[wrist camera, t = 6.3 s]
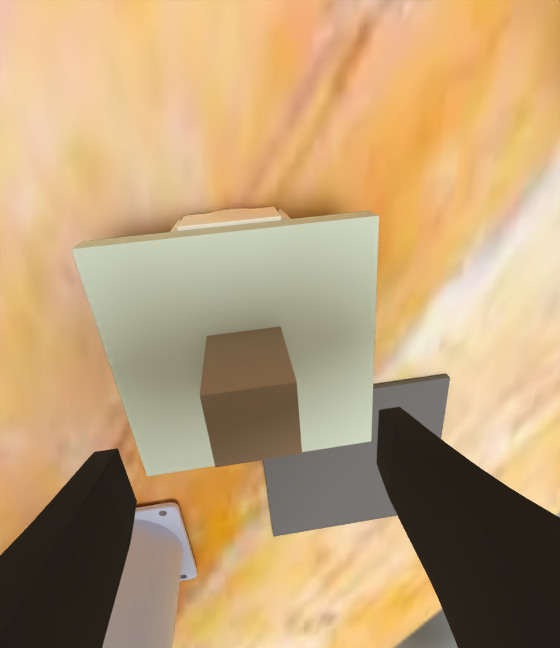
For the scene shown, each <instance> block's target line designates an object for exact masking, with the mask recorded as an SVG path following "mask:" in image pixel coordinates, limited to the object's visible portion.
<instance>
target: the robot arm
mask: <svg viewBox="0 0 560 648" xmlns="http://www.w3.org/2000/svg"><path fill="white" fill-rule="evenodd" d="M376 463H377V466H378V469H379V472H380V475H381V478H382V481H383V483H384V486H385V489H386V491H387V494H388V497H389V499H390V501H391V503H392V505H393V507H394V509H395V511H396V513H397V515H398V517H399V519H400V521H401V523H402V525H403V527H404V529H405V531H406V533H407V535H408V537H409V539H410V541H411V543H412V545H413V547H414V549H415V551H416V553H417V555H418V557H419V559H420V561H421V563H422V565H423V567H424V569H425V571H426V573H427V575H428V577H429V579H430V581H431V583H432V586H433V588H434V590H435V592H436V594H437V597H438V599H439V601H440V603H441V606H442V608H443V611H444V613H445V616H446V618H447V621H448V623H449V626H450V628H451V631H452V633H453V636H454V638H455V641H456V643H457V646H458V648H560V518H559V517H558V516H556V515H554V514H552V513H551V512H549V511H547V510H546V509H544V508H542V507H541V506H539V505H537V504H535V503H534V502H532V501H530V500H529V499H527V498H525V497H524V496H522V495H520V494H519V493H517V492H516V491H514V490H512V489H511V488H509V487H508V486H506V485H505V484H503V483H502V482H500V481H499V480H497V479H496V478H494V477H493V476H491V475H490V474H488V473H487V472H485V471H484V470H482V469H481V468H480V467H478V466H477V465H475V464H474V463H472V462H471V461H470V460H468V459H467V458H465V457H464V456H463V455H461V454H460V453H459V452H457V451H456V450H455V449H453V448H452V447H451V446H449V445H448V444H447V443H445V442H444V441H443V440H441V439H440V438H439V437H438V436H436V435H435V434H434V433H433V432H431V431H430V430H429V429H427V428H426V427H425V426H424V425H422V424H421V423H420V422H419V421H417V420H416V419H415V418H414V417H412V416H411V415H410V414H409V413H407V412H406V411H405V410H403V409H402V408H401V407H394V408H387V409H381V410H379V418H378V439H377V461H376ZM136 504H137V501H136V498H135V495H134V492H133V490H132V487H131V484H130V481H129V479H128V476H127V473H126V470H125V468H124V465H123V462H122V459H121V457H120V454H119V451H118V449H111V450H105V451H98V452H94V453H93V454H92V455H91V456H90V457H89V458H88V459H87V461H86V462H85V463H84V464H83V465H82V466H81V467H80V469H79V470H78V471H77V472H76V473H75V474H74V476H73V477H72V478H71V479H70V480H69V481H68V482H67V484H66V485H65V486H64V487H63V488H62V489H61V490H60V492H59V493H58V494H57V495H56V496H55V497H54V498H53V500H52V501H51V502H50V503H49V504H48V505H47V506H46V507H45V508H44V510H43V511H42V512H41V513H40V514H39V515H38V516H37V517H36V519H35V520H34V521H33V522H32V523H31V524H30V525H29V526H28V527H27V528H26V529H25V530H24V532H23V533H22V534H21V535H20V536H19V537H18V538H17V539H16V540H15V541H14V542H13V543H12V544H11V545H10V546H9V547H8V548H7V549H6V550H5V551H4V552H3V553H2V555H1V556H0V648H173V639H174V630H175V621H176V612H177V603H178V594H179V585H180V581H184V580H190V579H194V578H195V577H196V576H197V567H196V564H195V560H194V557H193V553H192V550H191V547H190V543H189V540H188V536H187V533H186V529H185V526H184V523H183V519H182V516H181V512H180V509H179V506H178V504H176V503H173V502H169V503H163V504H157V505H150V506H144V507H138V508H136Z"/></svg>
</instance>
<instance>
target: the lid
mask: <svg viewBox="0 0 560 648" xmlns="http://www.w3.org/2000/svg"><path fill="white" fill-rule="evenodd" d="M378 232H379V215H376V214H374V213H372V212H370V211H361V212H351V213H342V214H333V215H323V216H314V217H305V218H295V219H286V220H277V221H268V222H258V223H249V224H240V225H230V226H221V227H212V228H202V229H193V230H184V231H175V232H165V233H156V234H147V235H137V236H128V237H119V238H109V239H100V240H91V241H83V242H81V243H80V244H78V245H77V246H75V247H74V248H72V249H71V251H72V254H73V257H74V260H75V262H76V265H77V268H78V271H79V274H80V277H81V280H82V283H83V286H84V289H85V292H86V295H87V298H88V301H89V304H90V307H91V310H92V313H93V316H94V319H95V322H96V325H97V328H98V331H99V334H100V337H101V340H102V343H103V346H104V349H105V352H106V355H107V358H108V361H109V364H110V367H111V370H112V373H113V376H114V379H115V382H116V385H117V388H118V391H119V394H120V397H121V400H122V403H123V406H124V409H125V412H126V415H127V418H128V421H129V424H130V427H131V430H132V433H133V436H134V439H135V442H136V445H137V448H138V451H139V454H140V457H141V460H142V463H143V466H144V469H145V472H146V475H147V476H153V475H160V474H166V473H172V472H179V471H185V470H192V469H198V468H204V467H211V466H215V467H221V466H227V465H233V464H240V463H246V462H252V461H259V460H265V459H272V458H278V457H284V456H291V455H297V454H302V452H307V451H313V450H319V449H326V448H332V447H338V446H345V445H351V444H358V443H364V442H370V441H371V433H372V405H373V376H374V347H375V318H376V289H377V260H378Z"/></svg>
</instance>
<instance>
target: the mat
mask: <svg viewBox="0 0 560 648" xmlns="http://www.w3.org/2000/svg"><path fill="white" fill-rule="evenodd" d="M449 381H450V377H449V376H448V375H447V374H444V375H437V376H430V377H423V378H416V379H409V380H402V381H395V382H388V383H381V384H374V385H373V405H372V433H371V441H370V442H364V443H358V444H351V445H345V446H338V447H332V448H326V449H319V450H313V451H307V452H302V454H297V455H291V456H284V457H278V458H272V459H265V460H263V462H264V469H265V477H266V484H267V491H268V499H269V506H270V514H271V521H272V529H273V536H280V535H286V534H291V533H297V532H303V531H309V530H315V529H321V528H326V527H332V526H338V525H344V524H350V523H355V522H361V521H367V520H373V519H379V518H385V517H390V516H396V515H397V513H396V511H395V509H394V507H393V505H392V503H391V501H390V499H389V497H388V494H387V491H386V489H385V486H384V483H383V481H382V478H381V475H380V472H379V469H378V466H377V463H376V461H377V439H378V418H379V410H381V409H387V408H394V407H401V408H402V409H403V410H405V411H406V412H407V413H409V414H410V415H411V416H412V417H414V418H415V419H416V420H417V421H419V422H420V423H421V424H422V425H424V426H425V427H426V428H427V429H429V430H430V431H431V432H433V433H434V434H435V435H436V436H438V437H439V438H440V439H441V435H442V428H443V422H444V415H445V408H446V401H447V394H448V387H449Z"/></svg>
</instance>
